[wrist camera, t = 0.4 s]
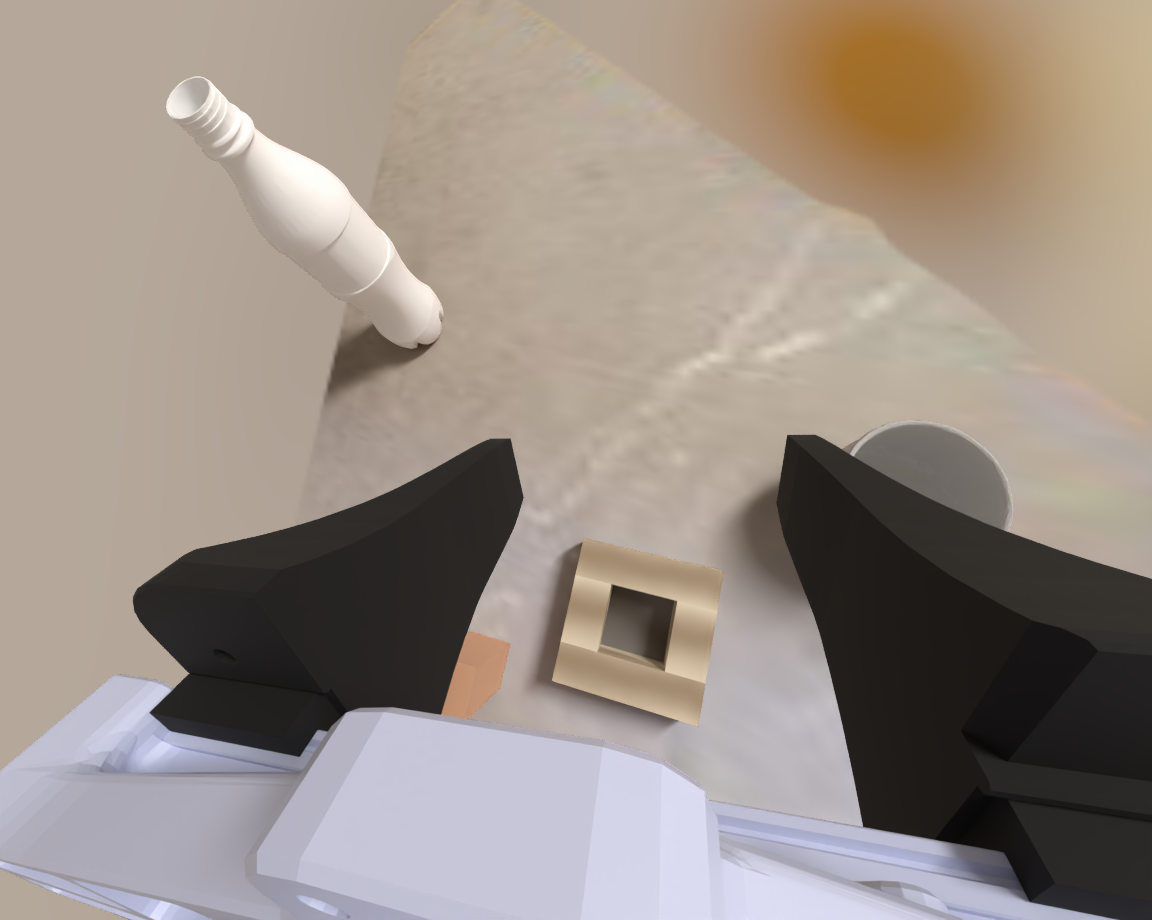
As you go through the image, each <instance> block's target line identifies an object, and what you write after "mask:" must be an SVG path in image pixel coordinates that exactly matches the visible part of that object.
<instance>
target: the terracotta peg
mask: <svg viewBox="0 0 1152 920" xmlns="http://www.w3.org/2000/svg"><path fill="white" fill-rule="evenodd" d="M509 648H510V643H507V642H504V641H500V640H497V639H494V638H490V637H487V636H484V635H480V634H477V633H474V632H470V633H468V634H466V637H465V640H464V643H463V646H462V649H461V652H460V655H459V658H458V661H457V664H456V667H455V670H454V673H453V677H452V680H451V683H450V687H449V690H448V693H447V697H446V700H445V704H444V707H443V710H442V714H441V715H445V716H451V717H458V718H464V719H469V718H470V717H471V716H472V715H473V714H474V713H475V712H476V711H477V710H478V709H479V708H480V707H481V706H482V705H483V704H484V703H485V702H486V701H488V700H489V699H490V698H491V697H492V696H493V695H494V694H495V693H496V692H497V691H498V690H499V689H500V685H501V681H502V677H503V673H504V669H505V665H506V661H507V657H508V652H509Z"/></svg>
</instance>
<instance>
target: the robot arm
mask: <svg viewBox="0 0 1152 920" xmlns="http://www.w3.org/2000/svg"><path fill="white" fill-rule="evenodd" d="M523 498H524V497H523V493H522V488H521V484H520V479H519V475H518V470H517V466H516V461H515V457H514V452H513V448H512V443H511V439H489V440H486V441H484V442H482V443H480V444H478V445H476V446H474V447H472V448H470V449H468V450H467V451H465V452H463V453H461V454H459V455H458V456H456V457H454V458H452V459H451V460H449V461H447V462H445V463H444V464H442V465H440V466H438V467H437V468H435V469H433V470H431V471H429V472H427V473H425V474H423V475H422V476H420V477H418V478H416V479H414V480H412V481H410V482H408V483H406V484H404V485H402V486H400V487H398V488H396V489H394V490H392V491H390V492H388V493H385V494H383V495H381V496H378V497H376V498H374V499H371V500H369V501H367V502H364V503H362V504H359V505H357V506H354V507H351V508H348V509H345V510H343V511H340V512H337V513H334V514H331V515H329V516H326V517H323V518H320V519H317V520H314V521H311V522H307V523H304V524H301V525H297V526H294V527H290V528H287V529H283V530H279V531H276V532H272V533H268V534H264V535H260V536H256V537H251V538H247V539H242V540H238V541H233V542H229V543H224V544H219V545H215V546H210V547H205V548H200V549H196V550H193V551H191V552H189V553H187V554H185V555H184V556H182V557H181V558H179V559H178V560H176V561H175V562H174V563H172V564H171V565H170V566H168V567H167V568H165V569H164V570H163V571H161V572H160V573H158V574H157V575H156V576H154V577H153V578H151V579H150V580H149V581H147V582H146V583H144V584H143V585H142V586H141V587H139V588H138V589H137V590H136V592H135V594H134V596H133V605H134V611H135V613H136V615H137V617H138V618H139V620H140V622H141V623H142V624H143V625H144V627H145V628H146V629H147V630H148V632H149V633H150V634H151V635H152V636H153V637H154V638H155V639H156V640H157V641H158V642H159V643H160V644H161V645H162V646H163V647H164V648H165V649H166V650H167V651H168V652H169V653H170V654H171V655H172V656H173V657H174V658H175V659H176V660H177V661H178V663H180V665H181V666H182V667H184V669H185V670H187V672H189V673H190V674H188V676H186V678H184V679H183V680H182V681H181V682H180V683H179V684H178V685H177V686H176V687H175V688H174V687H172V686H170V685H168V684H166V683H164V682H162V681H158V680H154V679H148V678H141V677H135V676H129V675H122V674H120V675H114V676H112V677H111V678H110V679H109V680H108V681H107V682H105V683H104V684H103V685H102V686H101V687H99V688H98V689H97V690H96V691H95V692H94V693H92V694H91V695H90V696H89V697H88V698H86V699H85V700H84V701H83V702H82V703H80V704H79V705H78V706H77V707H76V708H74V709H73V710H72V711H71V712H70V713H68V714H67V715H66V716H65V717H64V718H63V719H61V720H60V721H59V722H58V723H57V724H55V725H54V726H53V727H52V728H51V729H49V730H48V731H47V732H46V733H45V734H43V735H42V736H41V737H40V738H39V739H37V740H36V741H35V742H34V743H33V744H32V745H30V746H29V747H28V748H27V749H26V750H24V751H23V752H22V753H21V754H20V755H18V756H17V757H16V758H15V759H14V760H13V761H11V762H10V763H9V764H8V765H7V766H6V767H4V768H3V769H2V770H1V771H0V869H2V870H4V871H7V872H9V873H11V874H13V875H16V876H18V877H20V878H22V879H25V880H27V881H29V882H31V883H34V884H36V885H38V886H40V887H43V888H45V889H47V890H49V891H52V892H54V893H56V894H59V895H62V896H65V897H68V898H71V899H73V900H77V901H79V902H82V903H85V904H88V905H91V906H93V907H96V908H99V909H102V910H104V911H107V912H110V913H113V914H115V915H118V916H121V917H124V918H127V919H129V920H1152V579H1150V578H1147V577H1143V576H1140V575H1137V574H1133V573H1130V572H1127V571H1123V570H1120V569H1117V568H1113V567H1110V566H1106V565H1103V564H1100V563H1096V562H1093V561H1090V560H1087V559H1084V558H1081V557H1078V556H1075V555H1072V554H1069V553H1066V552H1063V551H1060V550H1057V549H1054V548H1051V547H1048V546H1045V545H1043V544H1040V543H1037V542H1034V541H1032V540H1029V539H1026V538H1023V537H1020V536H1018V535H1015V534H1012V533H1009V532H1007V531H1004V530H1002V529H999V528H997V527H994V526H991V525H989V524H986V523H984V522H982V521H979V520H977V519H975V518H972V517H970V516H968V515H965V514H963V513H961V512H958V511H956V510H954V509H951V508H949V507H947V506H945V505H943V504H940V503H938V502H936V501H934V500H932V499H930V498H928V497H926V496H924V495H922V494H920V493H918V492H916V491H914V490H912V489H910V488H908V487H906V486H904V485H903V484H901V483H899V482H897V481H895V480H893V479H891V478H890V477H888V476H886V475H884V474H882V473H881V472H879V471H877V470H875V469H874V468H872V467H870V466H869V465H867V464H865V463H864V462H862V461H860V460H859V459H857V458H855V457H854V456H852V455H850V454H849V453H847V452H845V451H844V450H842V449H840V448H839V447H837V446H835V445H833V444H832V443H830V442H828V441H827V440H825V439H823V438H821V437H819V436H817V435H787V441H786V447H785V453H784V460H783V466H782V472H781V479H780V485H779V491H778V498H777V507H778V512H779V517H780V522H781V526H782V531H783V535H784V538H785V541H786V544H787V547H788V549H789V552H790V555H791V557H792V560H793V563H794V565H795V568H796V570H797V573H798V575H799V578H800V581H801V583H802V586H803V588H804V591H805V594H806V596H807V599H808V601H809V604H810V606H811V609H812V612H813V614H814V617H815V620H816V623H817V626H818V629H819V632H820V636H821V640H822V643H823V647H824V651H825V655H826V659H827V663H828V667H829V670H830V674H831V678H832V683H833V687H834V691H835V695H836V699H837V704H838V708H839V712H840V716H841V720H842V725H843V730H844V734H845V739H846V744H847V748H848V753H849V757H850V762H851V767H852V771H853V776H854V781H855V786H856V791H857V797H858V802H859V807H860V812H861V817H862V823H863V827H859V826H854V825H848V824H843V823H837V822H831V821H826V820H820V819H815V818H809V817H803V816H798V815H792V814H787V813H781V812H775V811H770V810H764V809H759V808H753V807H747V806H742V805H736V804H731V803H725V802H719V801H714V800H708V797H707V795H706V793H705V791H704V790H703V789H702V788H701V787H700V786H699V785H698V783H697V782H696V781H695V780H694V779H693V778H691V777H689V776H688V775H686V774H685V773H683V772H682V771H680V770H679V769H677V768H675V767H674V766H672V765H671V764H669V763H668V762H666V761H664V760H663V759H661V758H660V757H658V756H657V755H654V754H650V753H647V752H643V751H640V750H636V749H633V748H629V747H626V746H622V745H619V744H616V743H612V742H609V741H605V740H599V739H592V738H586V737H580V736H573V735H567V734H560V733H554V732H547V731H541V730H535V729H528V728H522V727H515V726H509V725H503V724H496V723H490V722H483V721H477V720H471V719H464V718H458V717H451V716H445V715H441V714H442V710H443V707H444V704H445V700H446V697H447V693H448V690H449V687H450V683H451V680H452V677H453V673H454V670H455V667H456V664H457V661H458V658H459V655H460V652H461V649H462V646H463V643H464V640H465V637H466V634H467V631H468V628H469V626H470V623H471V620H472V617H473V614H474V612H475V609H476V606H477V604H478V601H479V599H480V597H481V594H482V592H483V590H484V588H485V586H486V584H487V582H488V580H489V578H490V576H491V574H492V572H493V570H494V568H495V566H496V564H497V562H498V560H499V558H500V556H501V553H502V551H503V549H504V547H505V545H506V543H507V541H508V539H509V537H510V535H511V533H512V531H513V529H514V526H515V523H516V520H517V518H518V515H519V511H520V508H521V504H522V501H523Z"/></svg>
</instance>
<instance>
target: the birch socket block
mask: <svg viewBox="0 0 1152 920" xmlns="http://www.w3.org/2000/svg"><path fill="white" fill-rule="evenodd" d="M723 573H724V572H723V571H720V570H717V569H713V568H709V567H704V566H700V565H696V564H692V563H687V562H683V561H679V560H675V559H670V558H666V557H662V556H658V555H653V554H649V553H645V552H641V551H636V550H632V549H628V548H624V547H620V546H615V545H611V544H607V543H603V542H598V541H594V540H590V539H583V543H582V547H581V552H580V556H579V561H578V565H577V570H576V574H575V579H574V583H573V588H572V592H571V597H570V601H569V606H568V610H567V615H566V619H565V624H564V628H563V633H562V637H561V642H560V646H559V651H558V655H557V660H556V664H555V669H554V673H553V678H552V681H554V682H557V683H560V684H563V685H567V686H570V687H573V688H576V689H579V690H583V691H586V692H589V693H592V694H595V695H599V696H602V697H605V698H608V699H611V700H615V701H618V702H621V703H624V704H627V705H631V706H634V707H637V708H640V709H643V710H647V711H650V712H653V713H656V714H659V715H663V716H666V717H669V718H672V719H675V720H679V721H682V722H685V723H688V724H691V725H695V726H698V725H699V719H700V713H701V707H702V701H703V695H704V689H705V683H706V677H707V671H708V664H709V658H710V652H711V646H712V640H713V634H714V628H715V622H716V616H717V610H718V604H719V598H720V591H721V585H722V579H723Z"/></svg>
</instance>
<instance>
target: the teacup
mask: <svg viewBox="0 0 1152 920" xmlns="http://www.w3.org/2000/svg"><path fill="white" fill-rule="evenodd" d="M842 450H844V451H845V452H847V453H849V454H850V455H852V456H854V457H855V458H857V459H859V460H860V461H862V462H864V463H865V464H867V465H869V466H870V467H872V468H874V469H875V470H877V471H879V472H881V473H882V474H884V475H886V476H888V477H890V478H891V479H893V480H895V481H897V482H899V483H901V484H903V485H904V486H906V487H908V488H910V489H912V490H914V491H916V492H918V493H920V494H922V495H924V496H926V497H928V498H930V499H932V500H934V501H936V502H938V503H940V504H943V505H945V506H947V507H949V508H951V509H954V510H956V511H958V512H961V513H963V514H965V515H968V516H970V517H972V518H975V519H977V520H979V521H982V522H984V523H986V524H989V525H991V526H994V527H997V528H999V529H1002V530H1004V531H1007V532H1009V529H1010V526H1011V523H1012V518H1013V498H1012V493H1011V490H1010V486H1009V482H1008V479H1007V477H1006V475H1005V473H1004V471H1003V470H1002V468H1001V467H1000V465H999V464H998V462H997V461H996V459H995V458H994V457H993V456H992V455H991V454H990V453H989V452H988V451H987V450H986V449H985V448H984V447H983V446H982V445H981V444H980V443H978V442H977V441H976V440H974V439H973V438H971V437H970V436H968V435H967V434H965V433H963V432H961V431H959V430H957V429H955V428H952V427H949V426H946V425H943V424H940V423H937V422H931V421H922V420H905V421H898V422H892V423H889V424H885V425H882V426H880V427H878V428H876V429H874V430H872V431H870V432H868V433H867V434H865V435H864V436H863V437H862V438H860V439H858V440H857V441H855V442H853V443H851V444H850V445H848V446H846V447H845V448H843V449H842Z"/></svg>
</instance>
